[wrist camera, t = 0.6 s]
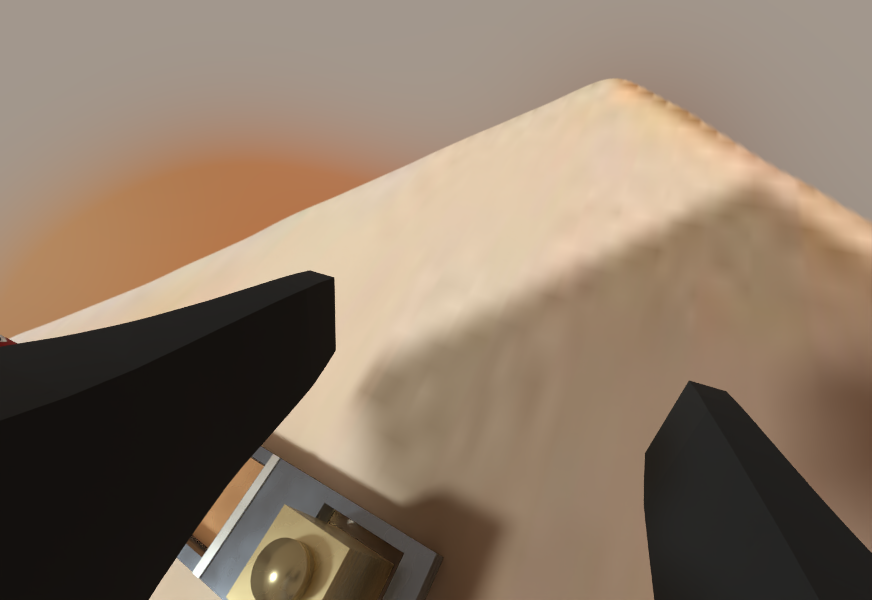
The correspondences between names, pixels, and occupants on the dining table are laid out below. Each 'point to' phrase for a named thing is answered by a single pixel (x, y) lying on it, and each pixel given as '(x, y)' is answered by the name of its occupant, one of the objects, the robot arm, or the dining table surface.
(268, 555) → the cube with round knob
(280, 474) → the plate with square holes
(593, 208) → the dining table surface
